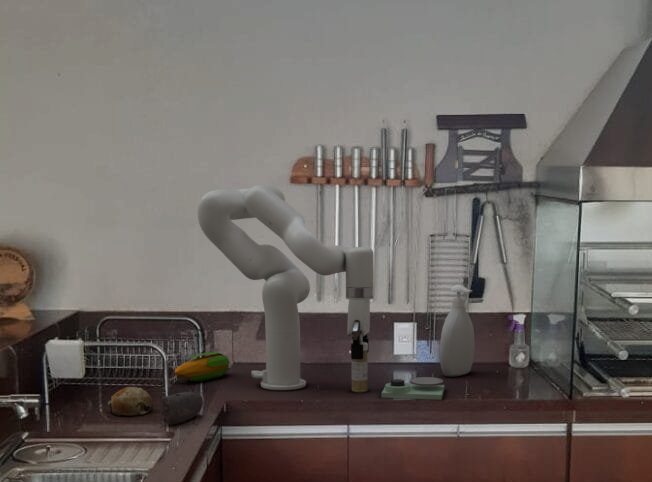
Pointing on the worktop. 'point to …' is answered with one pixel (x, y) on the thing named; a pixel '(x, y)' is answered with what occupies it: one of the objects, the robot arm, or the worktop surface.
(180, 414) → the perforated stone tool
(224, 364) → the corn
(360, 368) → the sprinkles bottle
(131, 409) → the bread roll
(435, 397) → the scale
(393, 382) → the power button
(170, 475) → the worktop surface
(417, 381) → the platter
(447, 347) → the soap bottle
